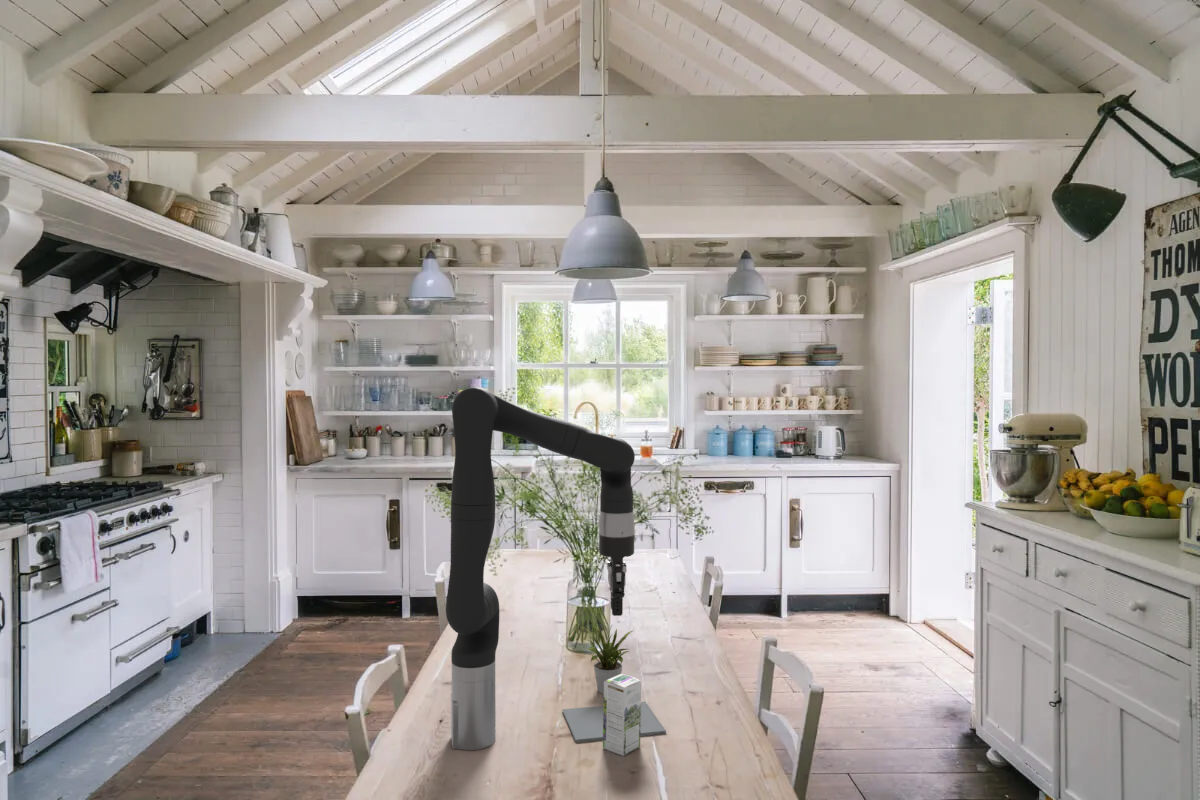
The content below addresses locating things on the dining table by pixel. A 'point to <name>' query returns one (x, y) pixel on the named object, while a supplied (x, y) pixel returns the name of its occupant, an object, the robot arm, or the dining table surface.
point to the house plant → (607, 658)
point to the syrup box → (622, 714)
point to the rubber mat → (590, 722)
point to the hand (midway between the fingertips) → (616, 611)
